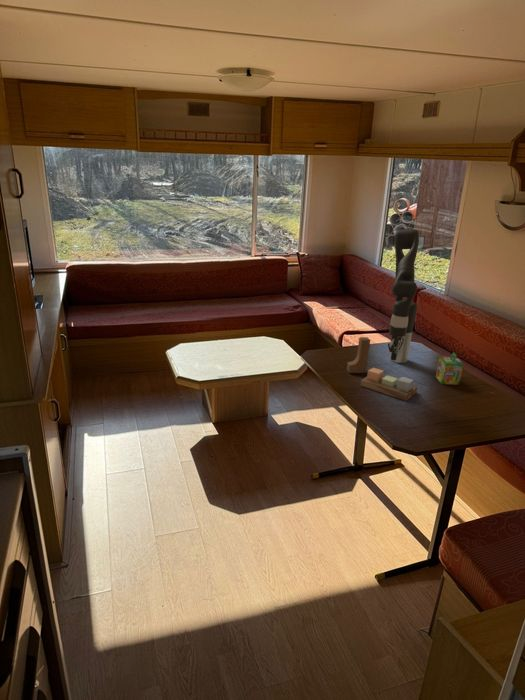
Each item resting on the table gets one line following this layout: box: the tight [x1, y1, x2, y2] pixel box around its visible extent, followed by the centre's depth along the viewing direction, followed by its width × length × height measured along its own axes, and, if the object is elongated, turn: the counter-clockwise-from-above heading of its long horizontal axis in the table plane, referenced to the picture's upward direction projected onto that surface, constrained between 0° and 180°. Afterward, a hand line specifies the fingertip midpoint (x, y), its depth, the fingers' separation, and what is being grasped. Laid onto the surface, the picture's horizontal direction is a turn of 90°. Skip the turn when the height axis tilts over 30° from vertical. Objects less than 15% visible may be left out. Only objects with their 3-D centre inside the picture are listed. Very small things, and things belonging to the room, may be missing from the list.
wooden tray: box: [360, 375, 418, 402], centre depth 235 cm, size 12×23×3 cm, turn 52°
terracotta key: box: [366, 367, 384, 383], centre depth 238 cm, size 6×6×5 cm
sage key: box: [381, 375, 399, 387], centre depth 235 cm, size 6×6×5 cm
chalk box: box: [434, 352, 464, 386], centre depth 246 cm, size 9×9×15 cm
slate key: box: [396, 376, 414, 392], centre depth 230 cm, size 6×6×5 cm
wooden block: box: [346, 336, 371, 374], centre depth 251 cm, size 9×4×18 cm, turn 97°
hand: (393, 359), depth 231 cm, fingers closed
